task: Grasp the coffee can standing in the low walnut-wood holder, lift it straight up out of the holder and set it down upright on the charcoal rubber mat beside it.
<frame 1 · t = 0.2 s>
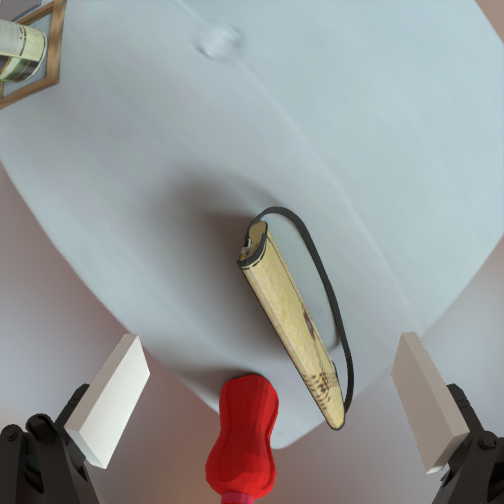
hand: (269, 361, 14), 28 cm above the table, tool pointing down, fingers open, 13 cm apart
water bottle: (252, 393, 52), on the table
holder: (28, 55, 32), on the table
clutch purse: (308, 291, 44), on the table
coffee can: (28, 55, 33), resting in holder
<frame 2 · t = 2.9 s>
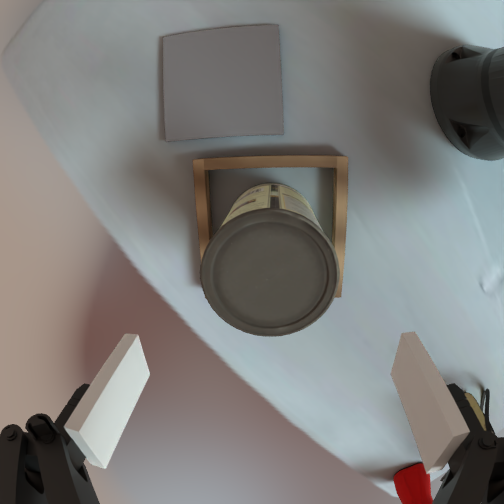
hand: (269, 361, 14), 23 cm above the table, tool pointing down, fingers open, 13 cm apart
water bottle: (409, 472, 55), on the table
mat: (221, 81, 30), on the table
holder: (272, 226, 35), on the table
clutch purse: (469, 417, 47), on the table
coffee can: (272, 226, 36), resting in holder
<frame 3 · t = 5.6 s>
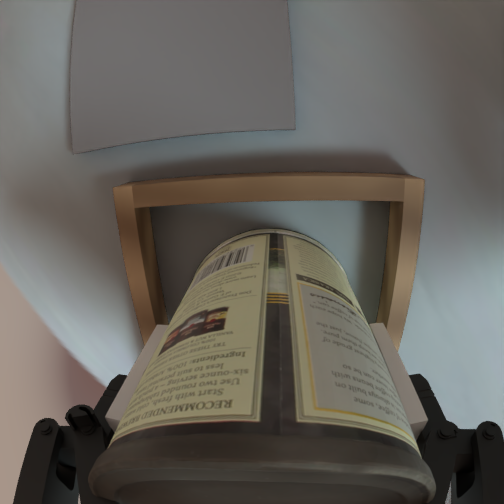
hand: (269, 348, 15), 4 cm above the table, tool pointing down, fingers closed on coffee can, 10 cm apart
mat: (172, 32, 14), on the table
holder: (271, 306, 19), on the table
coffee can: (271, 305, 19), resting in holder, touching gripper
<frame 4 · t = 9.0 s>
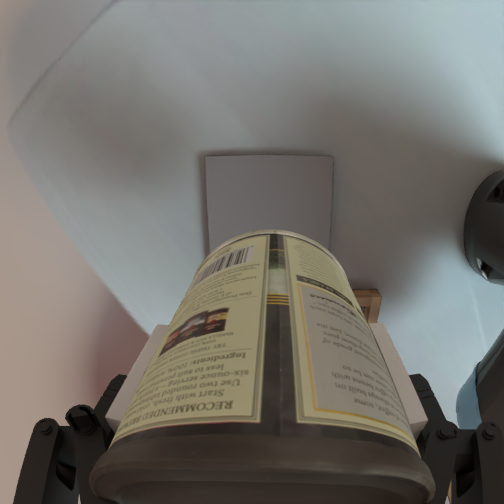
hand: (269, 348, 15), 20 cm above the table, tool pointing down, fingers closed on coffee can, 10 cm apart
mat: (269, 215, 33), on the table
holder: (306, 345, 38), on the table
coffee can: (271, 305, 19), point 15 cm above the table, touching gripper
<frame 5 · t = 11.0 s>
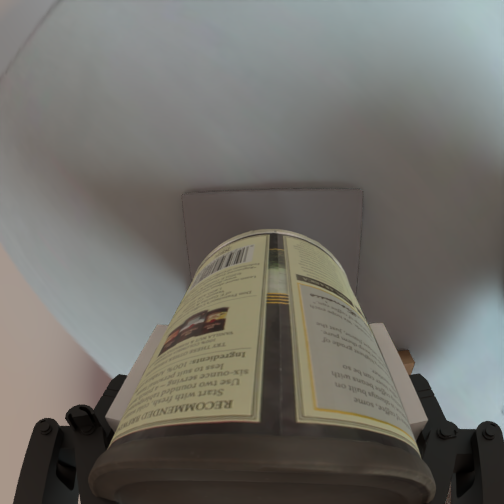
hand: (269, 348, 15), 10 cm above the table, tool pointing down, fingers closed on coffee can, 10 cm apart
mat: (274, 271, 24), on the table
coffee can: (271, 305, 19), point 5 cm above the table, touching gripper
when the fingers open (6 cm above the table, at t = 12.7 s): coffee can stays where it is, point 1 cm above the table.
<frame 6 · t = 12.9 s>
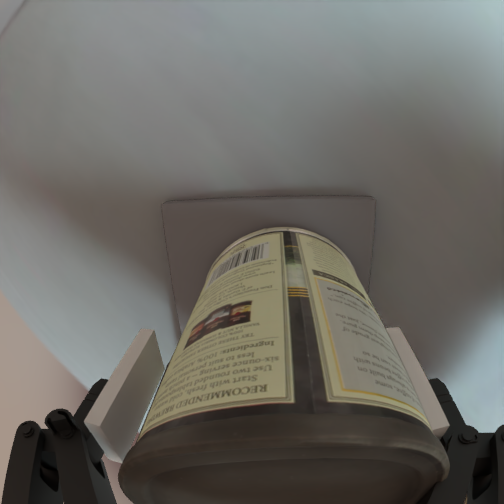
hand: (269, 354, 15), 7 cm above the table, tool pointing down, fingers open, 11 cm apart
mat: (270, 292, 21), on the table
coffee can: (283, 301, 20), point 1 cm above the table, touching gripper
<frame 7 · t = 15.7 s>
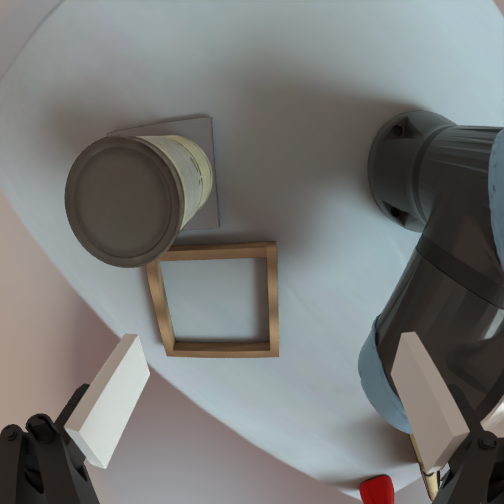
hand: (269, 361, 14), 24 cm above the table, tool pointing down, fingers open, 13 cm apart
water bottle: (375, 482, 62), on the table
mat: (162, 177, 35), on the table
holder: (216, 301, 41), on the table
clutch purse: (424, 439, 54), on the table
coffee can: (171, 177, 34), point 1 cm above the table, touching mat
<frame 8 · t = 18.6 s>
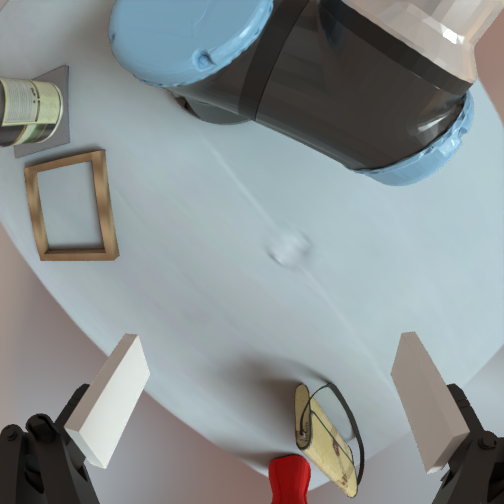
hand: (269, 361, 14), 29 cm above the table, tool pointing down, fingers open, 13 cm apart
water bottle: (291, 463, 62), on the table
mat: (40, 113, 37), on the table
holder: (70, 208, 43), on the table
clutch purse: (334, 414, 54), on the table
coffee can: (42, 112, 36), point 1 cm above the table, touching mat
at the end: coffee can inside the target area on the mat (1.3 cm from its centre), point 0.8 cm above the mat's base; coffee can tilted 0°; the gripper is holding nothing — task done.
